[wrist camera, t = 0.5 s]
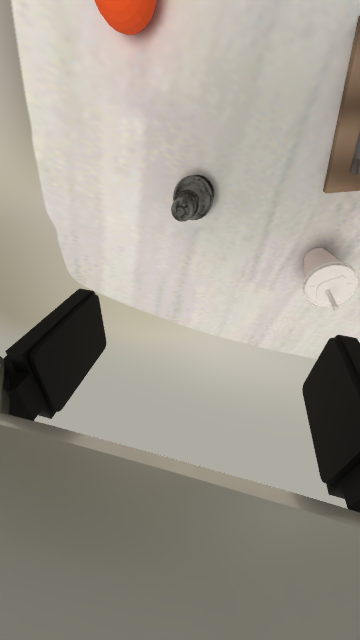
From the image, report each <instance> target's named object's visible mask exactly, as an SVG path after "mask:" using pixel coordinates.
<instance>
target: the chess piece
mask: <svg viewBox="0 0 360 640" xmlns="http://www.w3.org/2000/svg"><path fill="white" fill-rule="evenodd" d="M213 196H214V190H213V187H212V185H211V183H210V181H209V180H208V179H207V178H205V177H203V176H200V175H194V176H188V177H185V178H183V179H182V180H181V181H180V182H179V183H178V184H177V186H176V187H175V190H174V195H173V200H174V202H173V204H172V208H171V211H172V215H173V217H174V218H175V219H176V220H178V221H187V220H188V219H189V220H197V219H200V218H202V217H204V216H205V215H206V214H207V213H208V212H209V210H210V208H211V206H212V201H213Z"/></svg>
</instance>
